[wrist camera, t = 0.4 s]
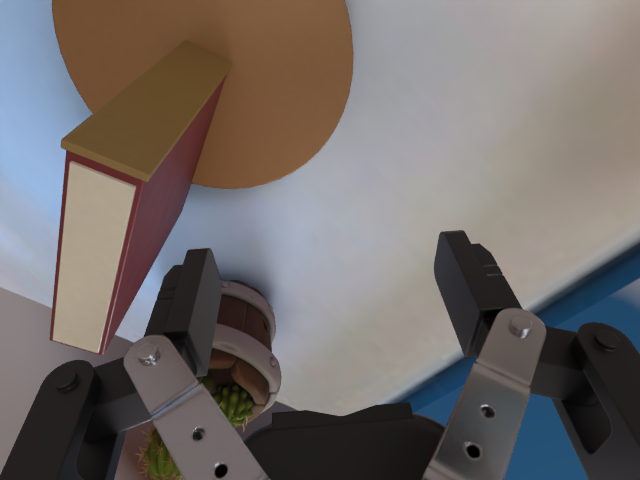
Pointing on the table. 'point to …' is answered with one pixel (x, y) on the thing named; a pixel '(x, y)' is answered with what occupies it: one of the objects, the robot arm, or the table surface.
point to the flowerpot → (232, 368)
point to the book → (179, 128)
